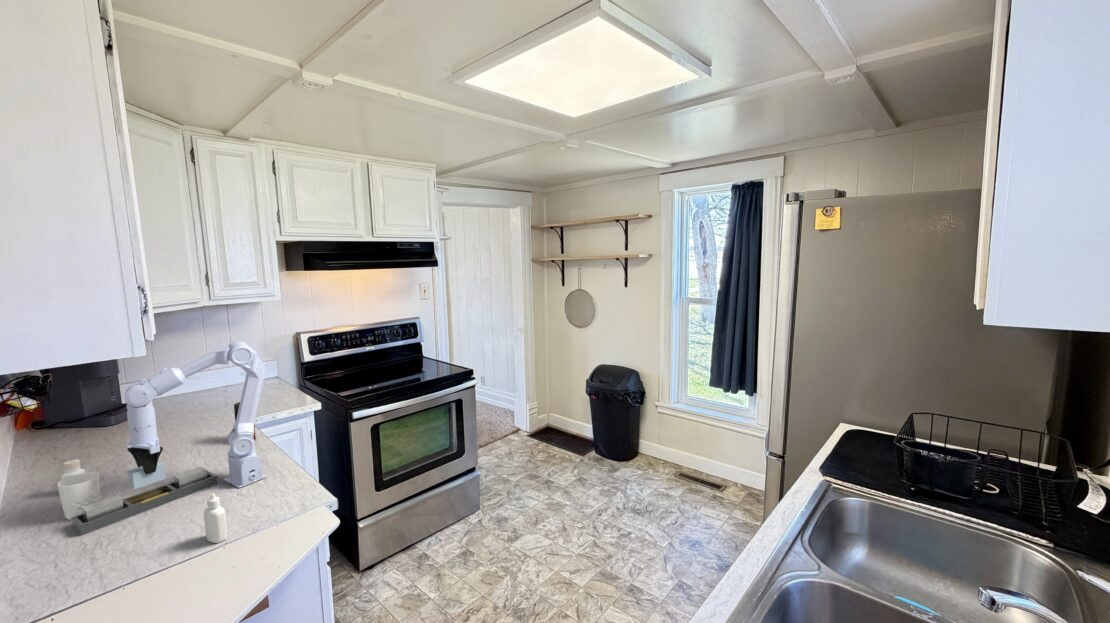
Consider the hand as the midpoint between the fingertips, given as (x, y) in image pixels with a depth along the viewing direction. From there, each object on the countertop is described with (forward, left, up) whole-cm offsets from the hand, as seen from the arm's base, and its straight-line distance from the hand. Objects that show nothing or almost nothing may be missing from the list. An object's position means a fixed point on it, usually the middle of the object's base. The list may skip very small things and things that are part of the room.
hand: (147, 471), depth 127 cm
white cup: (+10, +11, -10) cm, 18 cm away
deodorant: (+23, -36, -10) cm, 44 cm away
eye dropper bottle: (-34, -2, -10) cm, 36 cm away
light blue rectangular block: (0, 0, -3) cm, 3 cm away
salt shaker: (+27, +9, -10) cm, 30 cm away
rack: (0, 0, -10) cm, 10 cm away
